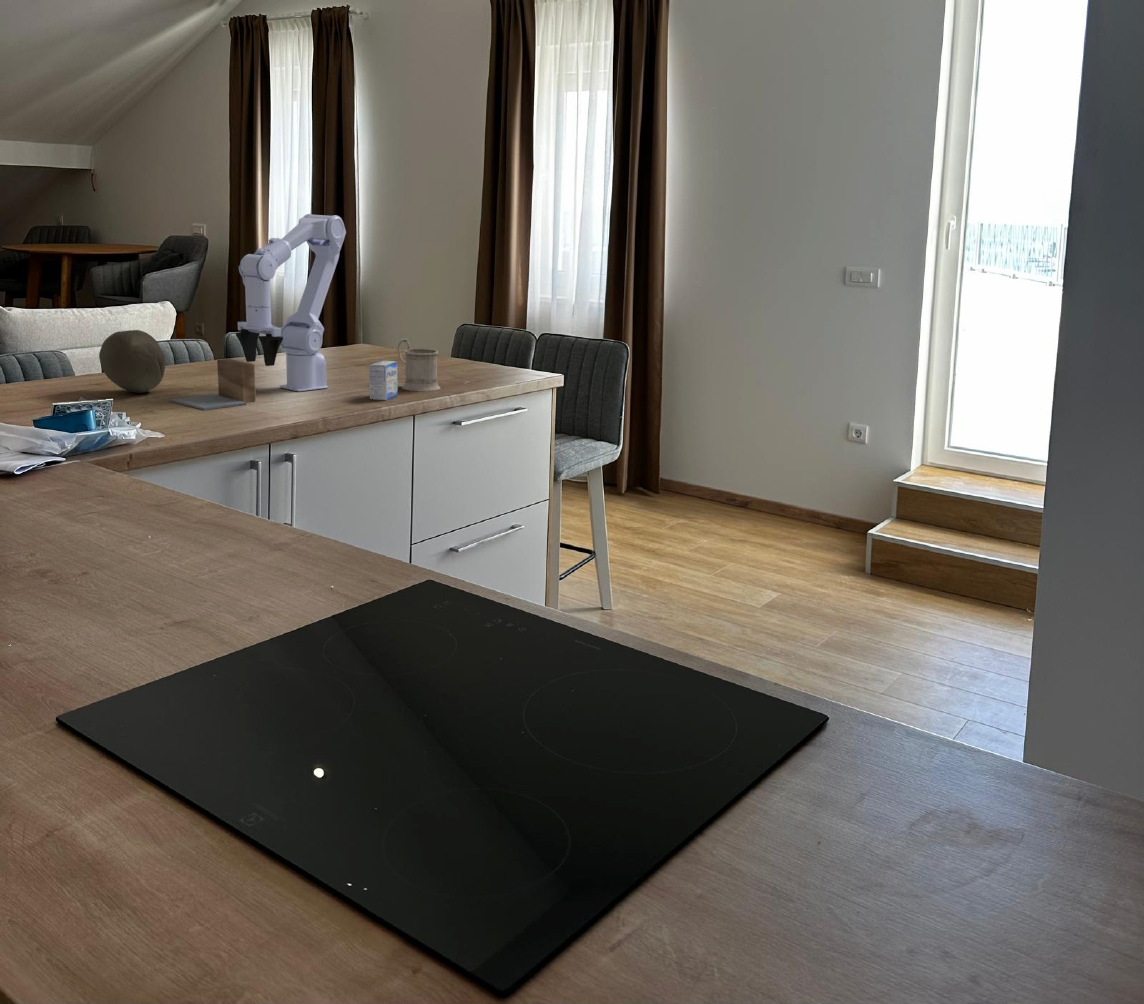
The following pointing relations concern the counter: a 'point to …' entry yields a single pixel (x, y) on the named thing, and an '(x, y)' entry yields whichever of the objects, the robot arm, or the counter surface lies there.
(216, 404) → the mat
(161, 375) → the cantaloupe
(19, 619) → the counter surface
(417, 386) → the mug
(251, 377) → the brown wooden block
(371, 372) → the medicine box
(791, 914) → the counter surface
